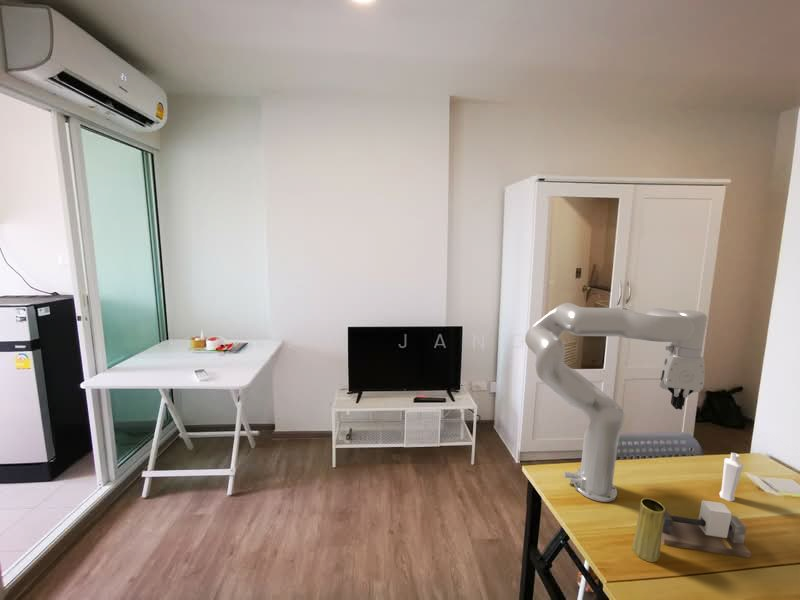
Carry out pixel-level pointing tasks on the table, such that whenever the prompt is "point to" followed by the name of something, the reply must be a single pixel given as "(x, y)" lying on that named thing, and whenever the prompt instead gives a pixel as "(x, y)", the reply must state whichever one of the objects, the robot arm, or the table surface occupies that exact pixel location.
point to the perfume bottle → (730, 477)
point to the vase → (649, 530)
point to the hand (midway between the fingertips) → (676, 407)
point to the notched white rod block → (715, 518)
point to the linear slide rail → (704, 536)
